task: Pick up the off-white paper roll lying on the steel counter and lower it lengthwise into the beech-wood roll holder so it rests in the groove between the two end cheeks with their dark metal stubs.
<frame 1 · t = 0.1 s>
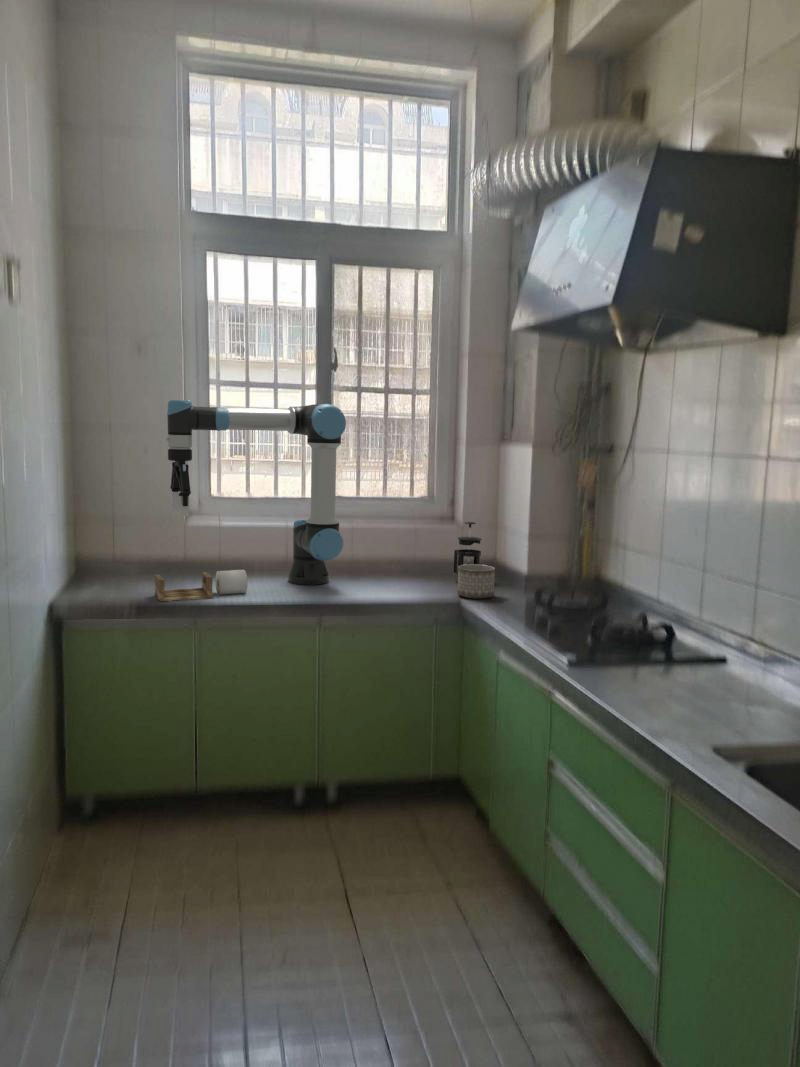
hand: (180, 513, 268), 28 cm above the countertop, fingers open, 13 cm apart
roll: (231, 593, 281), on the countertop
french press: (466, 582, 312), on the countertop
holder: (183, 596, 274), on the countertop
planter: (475, 597, 287), on the countertop
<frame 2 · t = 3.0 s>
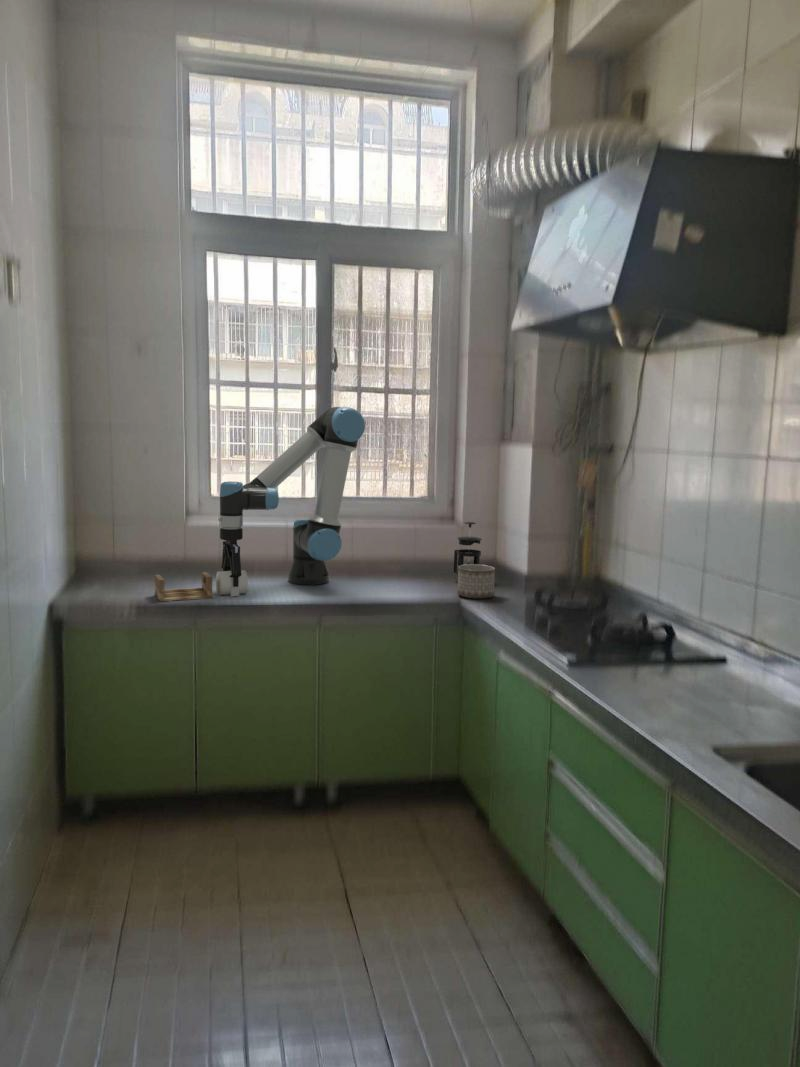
hand: (231, 592, 280), 0 cm above the countertop, fingers open, 9 cm apart
roll: (231, 593, 280), on the countertop, tilted 7°
everything else where it was.
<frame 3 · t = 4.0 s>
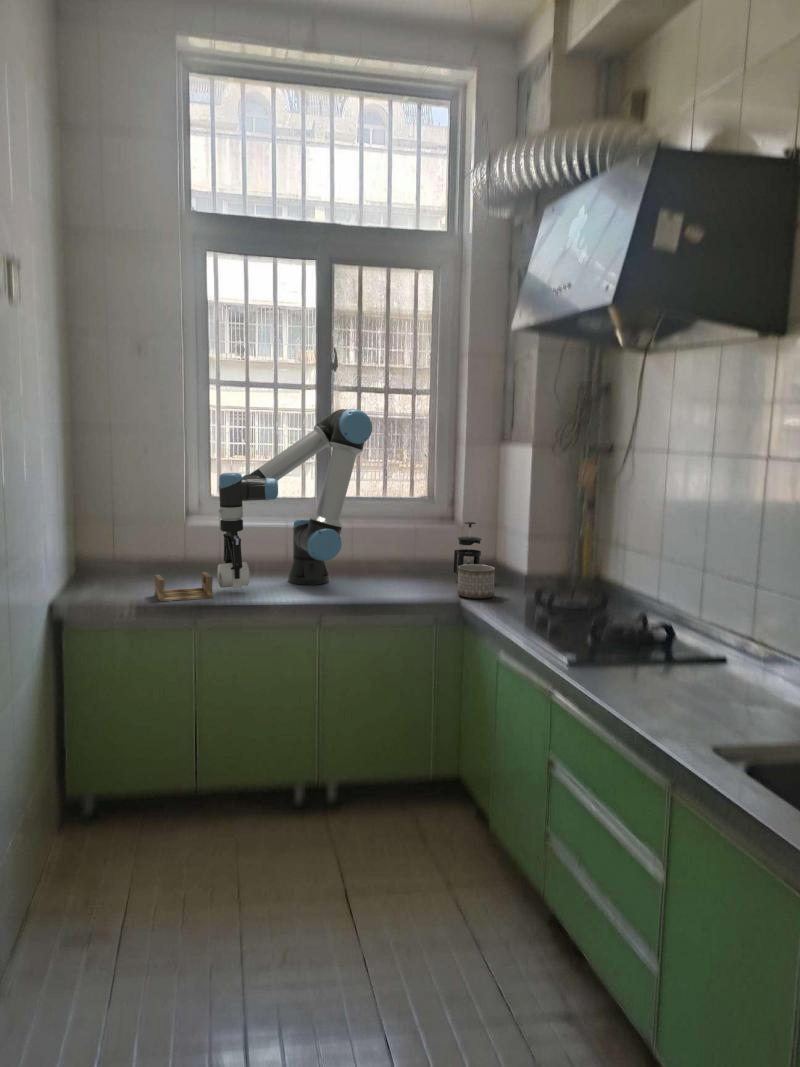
hand: (233, 585, 280), 3 cm above the countertop, fingers closed on roll, 8 cm apart
roll: (233, 586, 280), point 2 cm above the countertop, touching gripper
everything else where it was.
when the fingers open (3 cm above the countertop, at t = 8.5 s): roll drops 1 cm, resting on holder.
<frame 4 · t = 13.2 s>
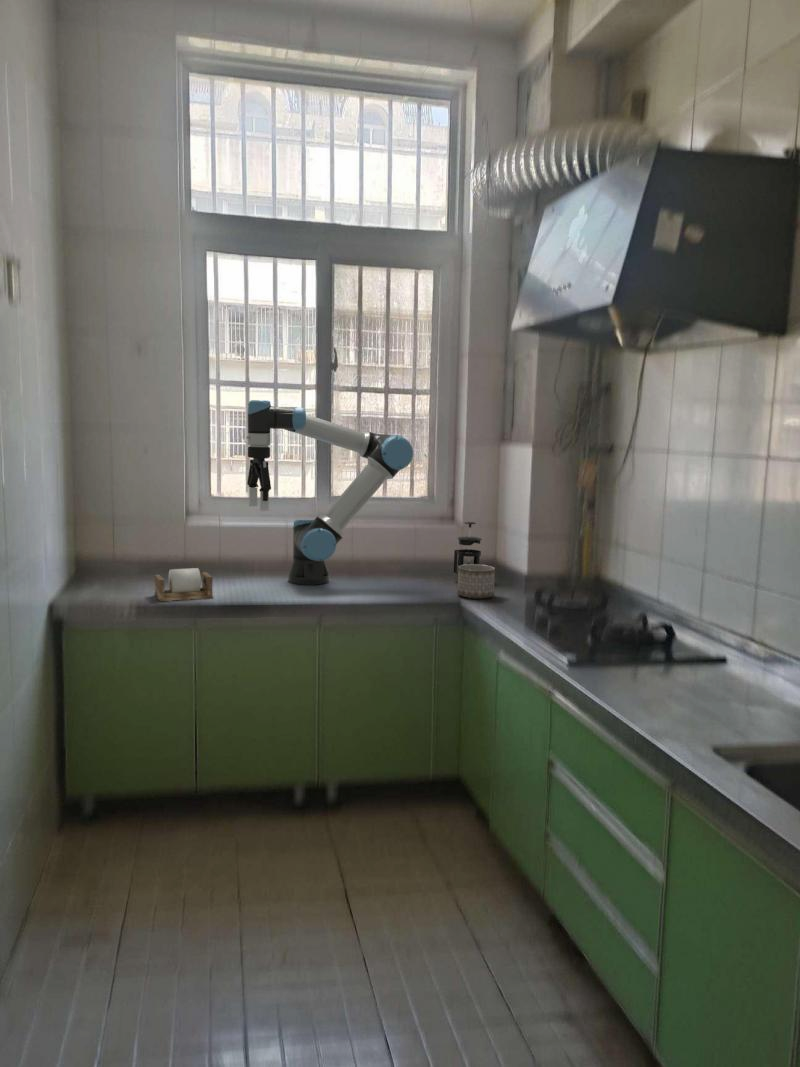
hand: (258, 508, 283), 29 cm above the countertop, fingers open, 13 cm apart
roll: (184, 592, 273), point 1 cm above the countertop, touching holder
everything else where it was.
at the end: roll 0.3 cm off-centre on the holder, point 1.3 cm above the holder's base; the gripper is holding nothing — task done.
